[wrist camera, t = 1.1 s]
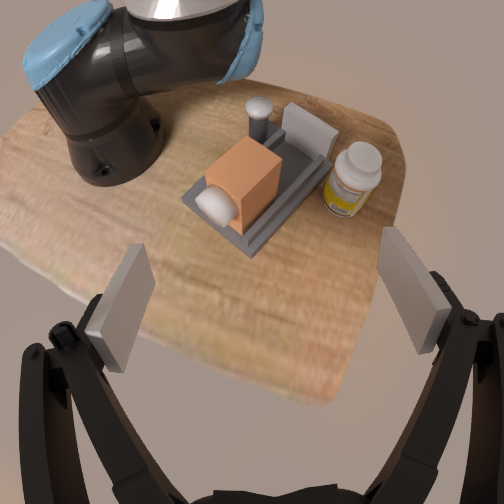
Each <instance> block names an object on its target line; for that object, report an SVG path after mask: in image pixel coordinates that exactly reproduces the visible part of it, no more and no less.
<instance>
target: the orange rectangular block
mask: <svg viewBox="0 0 504 504" xmlns="http://www.w3.org/2000/svg"><path fill="white" fill-rule="evenodd" d="M281 165H282V158H280V157H279V156H277V155H276V154H275V153H273V152H272V151H270V150H269V149H267V148H266V147H264V146H263V145H261V144H260V143H258V142H256V141H255V140H253V139H252V138H250V137H249V136H247V135H246V136H244V137H243V138H242V139H241V140H240V141H239V142H237V143H236V144H235V145H234V146H233V147H232V148H231V149H229V150H228V151H227V152H226V153H225V154H224V155H223V156H221V157H220V158H219V159H218V160H217V161H216V162H215V163H214V164H213V165H211V166H210V167H209V168H208V169H207V170H206V171H205V172H204V174H205V178H206V183H207V188H206V189H205V190H204V191H202V192H201V193H200V194H199V195H198V196H197V197H196V198H195V201H196V204H197V205H198V207H199V208H200V210H201V211H202V212H203V213H204V214H205V215H206V216H207V217H208V218H209V219H210V220H211V221H212V222H214V223H215V224H216V225H218V226H220V227H222V228H224V227H225V226H226V225H227V224H228V225H229V226H231V227H232V228H233V229H234V230H236V231H237V232H238V233H239V234H240V235H242V236H243V235H244V234H245V233H246V232H247V231H248V230H249V229H250V228H251V226H252V225H253V224H254V223H255V222H256V221H257V220H258V219H259V218H260V217H261V216H262V215H263V214H264V213H265V212H266V211H267V209H268V208H269V207H270V206H271V205H272V204H273V203H274V202H275V200H276V195H277V189H278V183H279V177H280V171H281Z"/></svg>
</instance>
